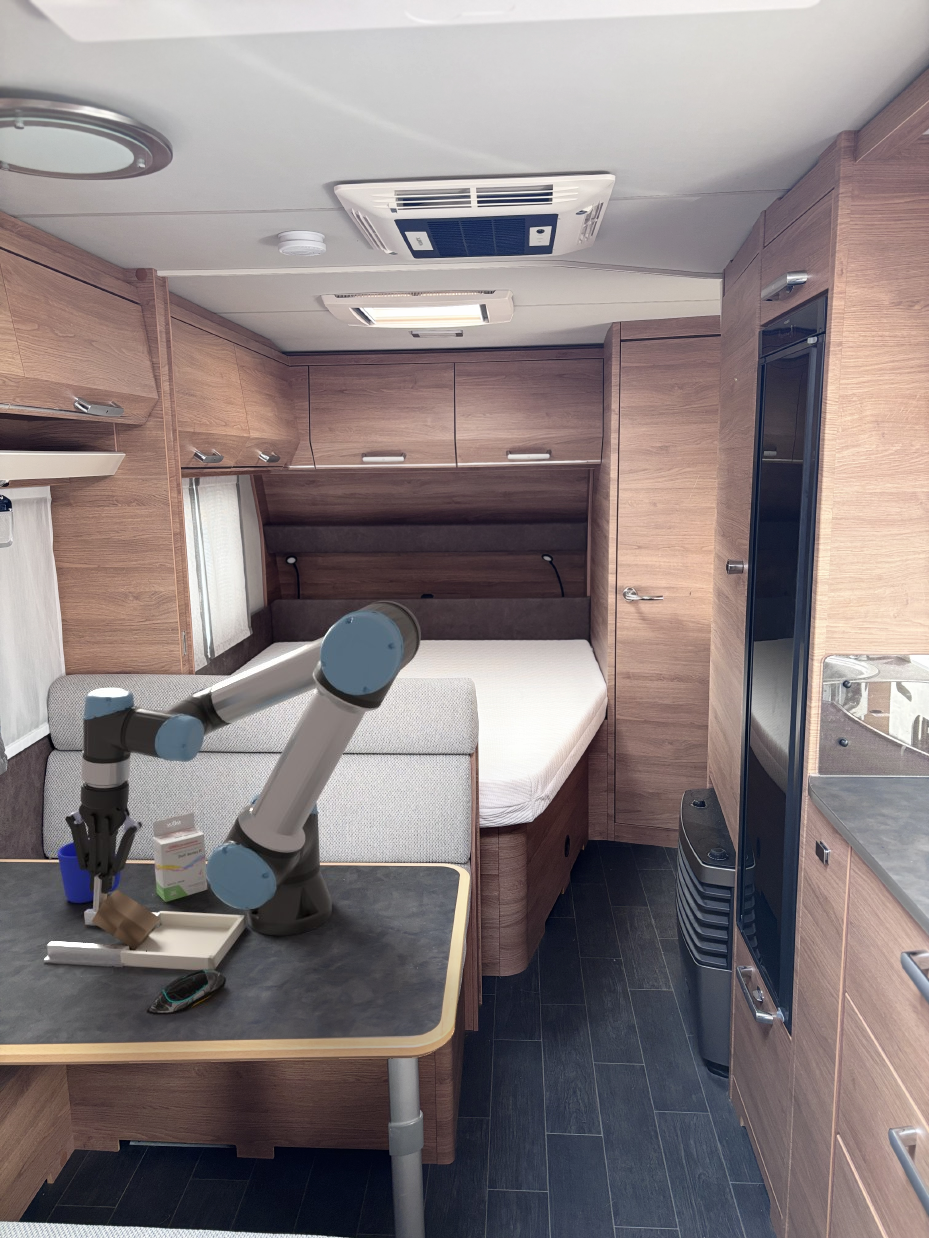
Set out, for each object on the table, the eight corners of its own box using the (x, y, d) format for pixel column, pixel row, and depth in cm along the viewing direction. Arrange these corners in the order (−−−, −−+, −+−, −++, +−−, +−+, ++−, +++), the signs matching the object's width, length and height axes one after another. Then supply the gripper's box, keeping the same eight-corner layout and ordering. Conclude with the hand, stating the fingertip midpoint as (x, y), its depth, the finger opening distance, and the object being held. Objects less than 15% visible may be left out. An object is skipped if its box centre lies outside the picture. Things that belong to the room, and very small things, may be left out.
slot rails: (164, 922, 160) (163, 909, 160) (122, 967, 146) (121, 953, 145) (92, 918, 162) (91, 905, 162) (44, 962, 148) (42, 948, 147)
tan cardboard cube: (147, 936, 155) (159, 917, 154) (135, 950, 151) (147, 930, 150) (126, 922, 155) (138, 903, 154) (113, 935, 151) (125, 916, 150)
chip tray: (245, 927, 158) (245, 915, 157) (213, 971, 144) (212, 958, 144) (161, 923, 160) (160, 910, 159) (121, 965, 146) (120, 952, 146)
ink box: (164, 903, 167) (158, 829, 165) (156, 893, 171) (150, 821, 169) (209, 890, 172) (203, 818, 170) (199, 880, 176) (194, 810, 174)
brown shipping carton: (126, 922, 155) (138, 903, 154) (113, 935, 151) (125, 916, 150) (105, 908, 155) (116, 889, 154) (91, 921, 151) (103, 901, 150)
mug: (110, 910, 165) (105, 860, 163) (52, 905, 167) (47, 855, 166) (135, 890, 173) (130, 841, 171) (79, 885, 175) (75, 837, 174)
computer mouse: (142, 1004, 136) (140, 979, 135) (220, 978, 142) (218, 954, 142) (152, 1024, 131) (150, 999, 130) (232, 997, 137) (231, 973, 137)
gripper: (151, 778, 152) (144, 904, 156) (83, 766, 153) (78, 892, 157) (129, 793, 144) (122, 925, 149) (57, 781, 146) (53, 912, 150)
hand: (99, 908), depth 153 cm, fingers closed
